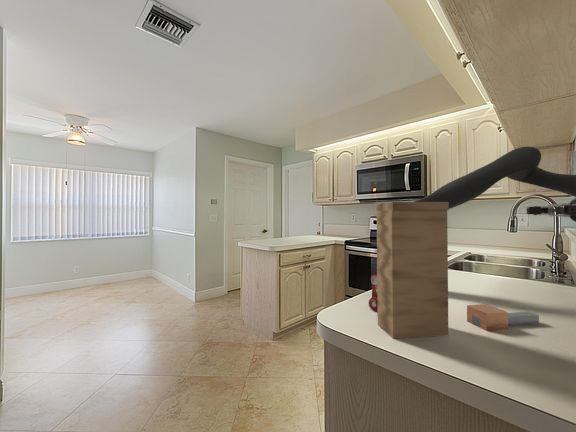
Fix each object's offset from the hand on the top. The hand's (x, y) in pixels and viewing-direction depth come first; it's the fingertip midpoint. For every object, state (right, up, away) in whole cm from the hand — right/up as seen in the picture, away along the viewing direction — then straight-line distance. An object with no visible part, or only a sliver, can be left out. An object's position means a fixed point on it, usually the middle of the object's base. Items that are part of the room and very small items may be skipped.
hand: (544, 210), depth 70 cm
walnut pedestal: (-38, -30, -4) cm, 48 cm away
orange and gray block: (-11, -30, -1) cm, 32 cm away
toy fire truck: (-39, -31, +8) cm, 50 cm away
